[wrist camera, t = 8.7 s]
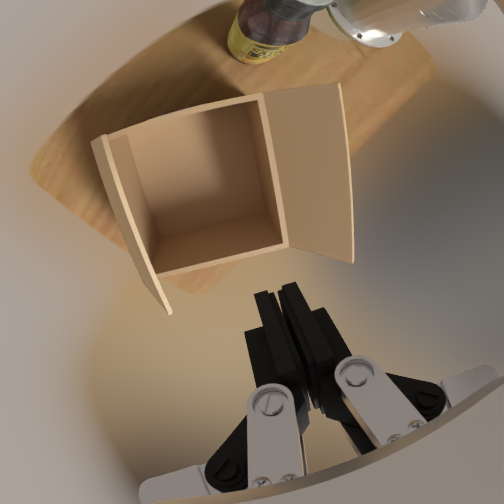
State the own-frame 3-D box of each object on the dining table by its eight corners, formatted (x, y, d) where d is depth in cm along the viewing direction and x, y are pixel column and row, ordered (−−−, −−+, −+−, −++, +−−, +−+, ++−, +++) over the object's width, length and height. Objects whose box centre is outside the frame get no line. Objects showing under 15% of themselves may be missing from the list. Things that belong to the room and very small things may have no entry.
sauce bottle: (240, 74, 30) (280, 37, 13) (216, 34, 27) (229, -39, 9) (287, 54, 29) (368, 13, 12) (264, 15, 26) (322, -58, 9)
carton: (247, 96, 31) (262, 91, 23) (270, 213, 39) (289, 246, 31) (122, 129, 31) (93, 139, 22) (158, 241, 39) (146, 281, 30)
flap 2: (262, 92, 23) (265, 92, 23) (289, 246, 31) (291, 245, 31) (337, 83, 18) (339, 83, 18) (352, 263, 26) (353, 261, 26)
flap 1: (146, 281, 30) (143, 283, 30) (94, 140, 22) (90, 142, 22) (173, 312, 25) (169, 315, 24) (105, 133, 17) (100, 135, 16)
